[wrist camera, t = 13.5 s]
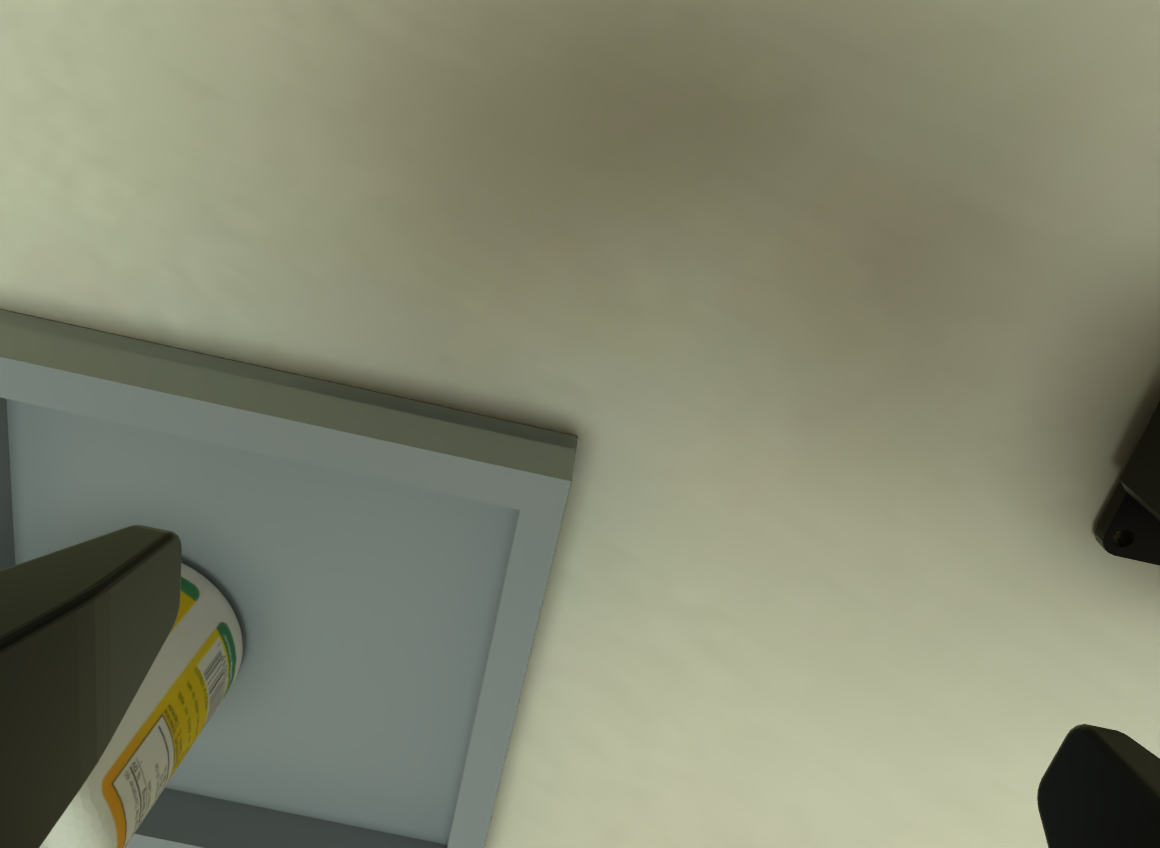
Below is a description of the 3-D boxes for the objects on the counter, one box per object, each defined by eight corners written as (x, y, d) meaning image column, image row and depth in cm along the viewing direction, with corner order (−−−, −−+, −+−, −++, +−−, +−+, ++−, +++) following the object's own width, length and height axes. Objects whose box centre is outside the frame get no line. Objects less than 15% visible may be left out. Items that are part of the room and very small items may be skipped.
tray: (577, 436, 22) (571, 481, 20) (479, 852, 28) (465, 924, 26) (-17, 305, 21) (-95, 336, 19) (11, 757, 27) (-46, 822, 25)
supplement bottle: (286, 661, 24) (85, 1010, 15) (141, 726, 25) (-122, 1084, 17) (164, 509, 22) (-142, 803, 14) (14, 587, 24) (-353, 902, 15)
